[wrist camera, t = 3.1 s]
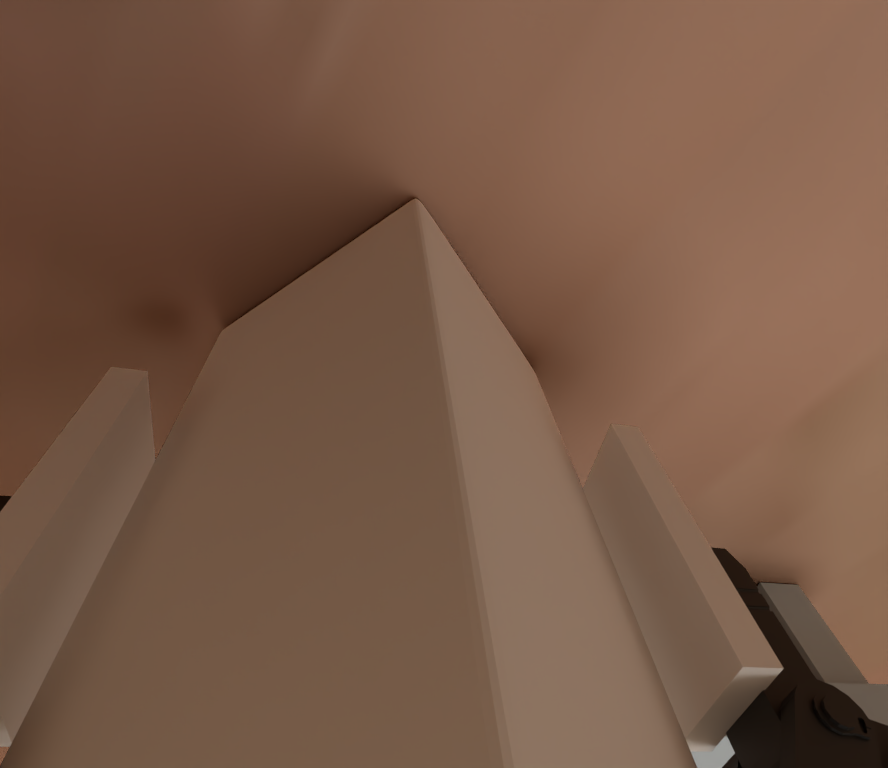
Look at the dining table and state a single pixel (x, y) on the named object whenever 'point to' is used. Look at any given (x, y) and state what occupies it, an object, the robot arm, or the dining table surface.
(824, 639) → the grey square footed tray
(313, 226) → the dining table surface
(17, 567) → the robot arm
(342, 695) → the milk carton
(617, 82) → the dining table surface
